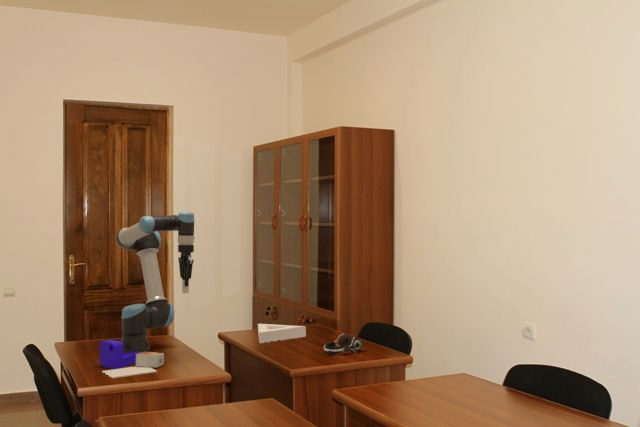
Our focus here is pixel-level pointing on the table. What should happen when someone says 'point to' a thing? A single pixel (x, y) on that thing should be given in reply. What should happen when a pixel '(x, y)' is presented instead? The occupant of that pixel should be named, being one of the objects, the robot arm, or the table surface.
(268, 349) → the table surface
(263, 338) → the triangular ruler
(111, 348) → the bracket
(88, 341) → the table surface
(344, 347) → the headset
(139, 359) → the small box
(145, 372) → the mat
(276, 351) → the table surface
